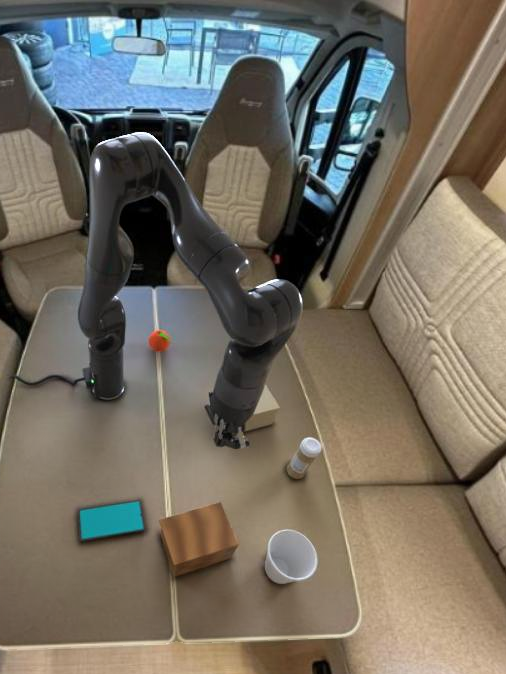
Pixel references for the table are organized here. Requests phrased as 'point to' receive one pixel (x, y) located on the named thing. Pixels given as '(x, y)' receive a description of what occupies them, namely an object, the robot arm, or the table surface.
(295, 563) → the cup
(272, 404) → the cabinet
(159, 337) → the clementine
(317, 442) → the sprinkles bottle
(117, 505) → the smartphone
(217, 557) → the chest
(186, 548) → the chest lid
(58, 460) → the table surface
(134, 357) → the table surface
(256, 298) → the robot arm
